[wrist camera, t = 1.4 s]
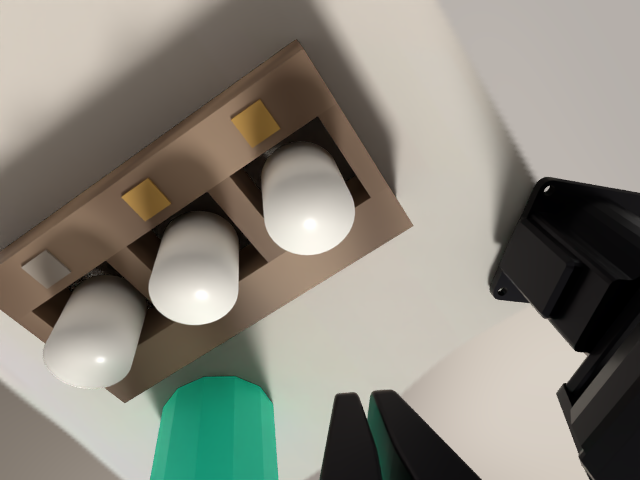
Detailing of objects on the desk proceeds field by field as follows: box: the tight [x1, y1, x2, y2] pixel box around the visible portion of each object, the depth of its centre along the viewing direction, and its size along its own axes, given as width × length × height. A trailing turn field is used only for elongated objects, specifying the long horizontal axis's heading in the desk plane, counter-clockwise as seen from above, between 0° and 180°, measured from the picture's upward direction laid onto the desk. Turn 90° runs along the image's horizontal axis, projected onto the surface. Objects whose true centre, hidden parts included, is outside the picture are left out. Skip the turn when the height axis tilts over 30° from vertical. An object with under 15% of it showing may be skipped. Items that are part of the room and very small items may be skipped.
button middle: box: [149, 211, 239, 325], centre depth 18 cm, size 3×3×3 cm
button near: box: [261, 141, 355, 255], centre depth 17 cm, size 3×3×3 cm
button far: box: [43, 275, 147, 389], centre depth 19 cm, size 3×3×3 cm
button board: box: [0, 39, 413, 403], centre depth 20 cm, size 15×8×3 cm, turn 122°
